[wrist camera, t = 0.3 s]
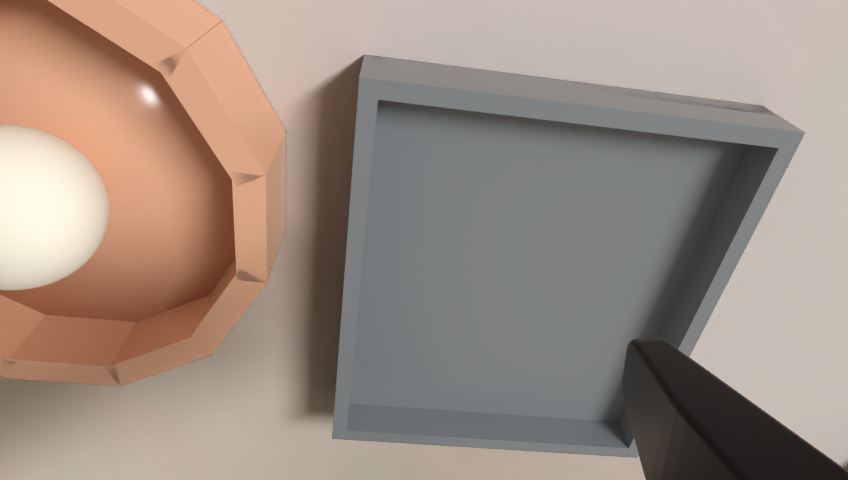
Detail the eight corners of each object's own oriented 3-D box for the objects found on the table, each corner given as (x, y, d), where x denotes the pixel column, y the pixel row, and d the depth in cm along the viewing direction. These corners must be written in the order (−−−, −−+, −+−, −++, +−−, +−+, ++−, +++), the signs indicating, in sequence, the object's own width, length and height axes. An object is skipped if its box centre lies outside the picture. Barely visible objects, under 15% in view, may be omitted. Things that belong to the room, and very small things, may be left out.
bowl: (284, 335, 25) (268, 396, 22) (-84, 306, 24) (-154, 367, 21) (287, -41, 17) (262, -24, 14) (-267, -120, 16) (-423, -119, 13)
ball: (143, 240, 21) (77, 331, 17) (-1, 227, 21) (-106, 317, 16) (123, 111, 18) (41, 180, 14) (-42, 92, 18) (-179, 157, 14)
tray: (619, 415, 28) (637, 457, 26) (337, 395, 27) (332, 438, 25) (763, 105, 20) (805, 132, 18) (364, 54, 19) (358, 77, 17)
